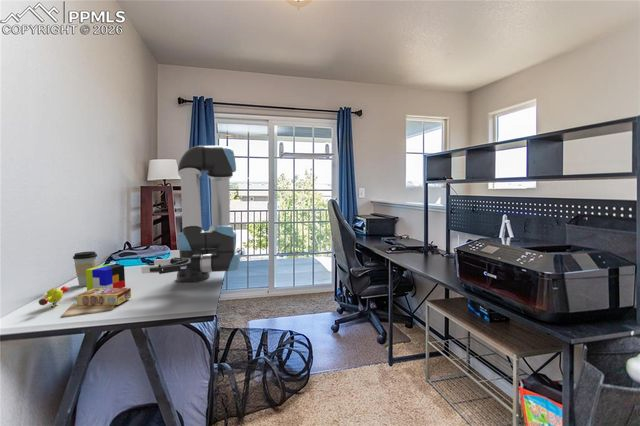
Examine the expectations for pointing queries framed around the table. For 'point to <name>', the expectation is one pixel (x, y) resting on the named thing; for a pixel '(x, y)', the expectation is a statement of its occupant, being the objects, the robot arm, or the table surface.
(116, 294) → the candy box
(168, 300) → the table surface
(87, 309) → the cork mat
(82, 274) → the coffee cup
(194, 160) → the robot arm
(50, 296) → the toy figure
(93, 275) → the puzzle toy
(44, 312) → the table surface
